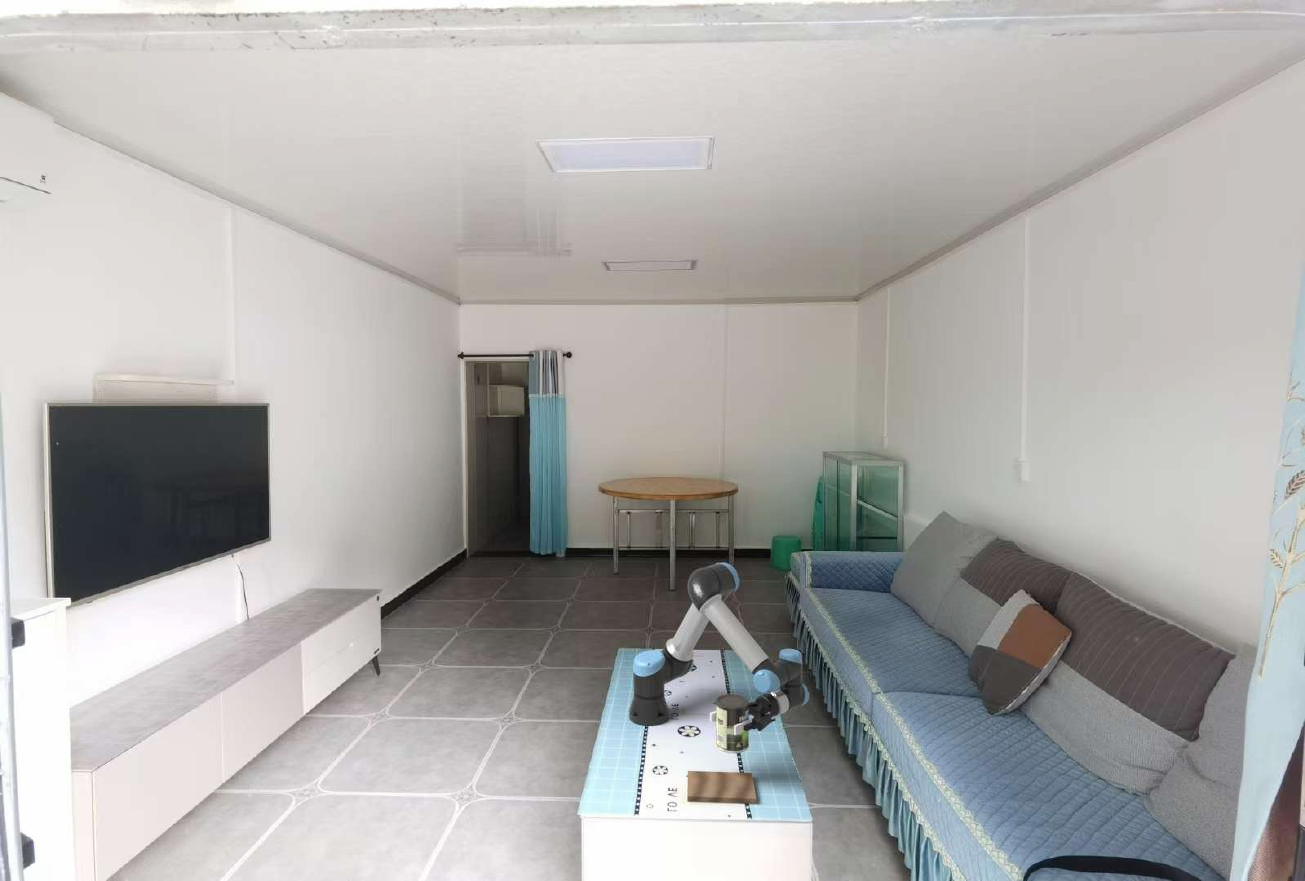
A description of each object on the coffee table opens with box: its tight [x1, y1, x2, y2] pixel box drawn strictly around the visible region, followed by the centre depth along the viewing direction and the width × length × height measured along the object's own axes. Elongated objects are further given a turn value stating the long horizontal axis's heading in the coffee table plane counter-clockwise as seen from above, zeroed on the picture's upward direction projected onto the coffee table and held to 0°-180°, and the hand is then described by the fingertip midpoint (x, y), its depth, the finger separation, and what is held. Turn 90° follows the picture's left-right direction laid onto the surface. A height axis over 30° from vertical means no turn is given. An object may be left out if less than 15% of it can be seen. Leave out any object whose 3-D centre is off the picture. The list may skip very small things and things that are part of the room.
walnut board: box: [686, 770, 757, 805], centre depth 196 cm, size 20×14×2 cm
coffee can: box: [715, 694, 750, 754], centre depth 203 cm, size 10×10×14 cm
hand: (722, 723), depth 200 cm, fingers closed on coffee can, 10 cm apart
